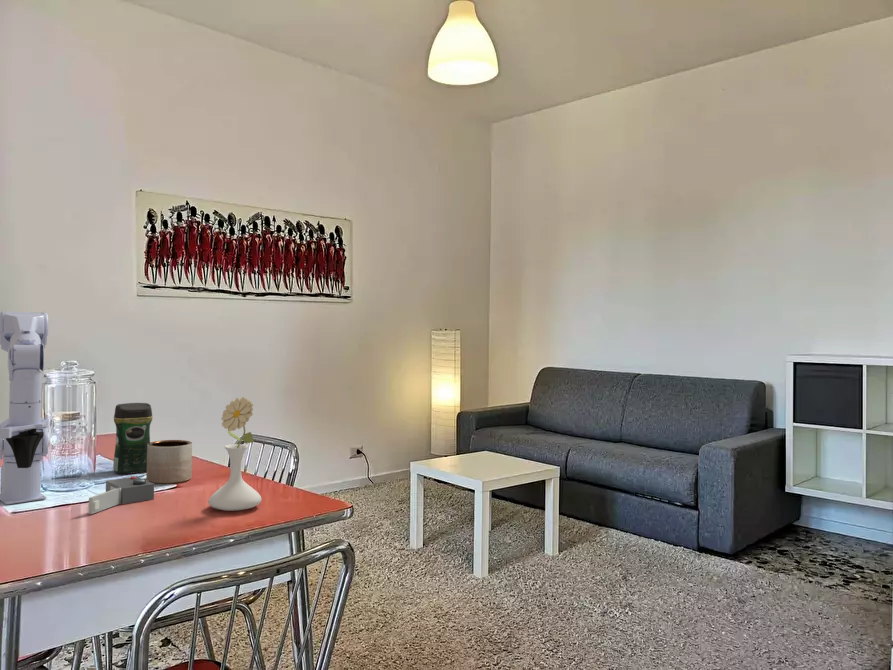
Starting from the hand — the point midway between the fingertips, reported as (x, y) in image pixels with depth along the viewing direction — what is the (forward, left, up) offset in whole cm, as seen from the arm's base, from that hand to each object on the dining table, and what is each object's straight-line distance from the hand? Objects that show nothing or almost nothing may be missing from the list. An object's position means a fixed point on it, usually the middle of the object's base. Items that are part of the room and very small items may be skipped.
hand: (24, 467), depth 143 cm
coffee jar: (-28, +33, -10) cm, 45 cm away
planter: (-12, +36, -10) cm, 40 cm away
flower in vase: (+24, +35, -10) cm, 44 cm away
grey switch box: (-1, +22, -10) cm, 24 cm away
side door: (+6, +14, -10) cm, 18 cm away
